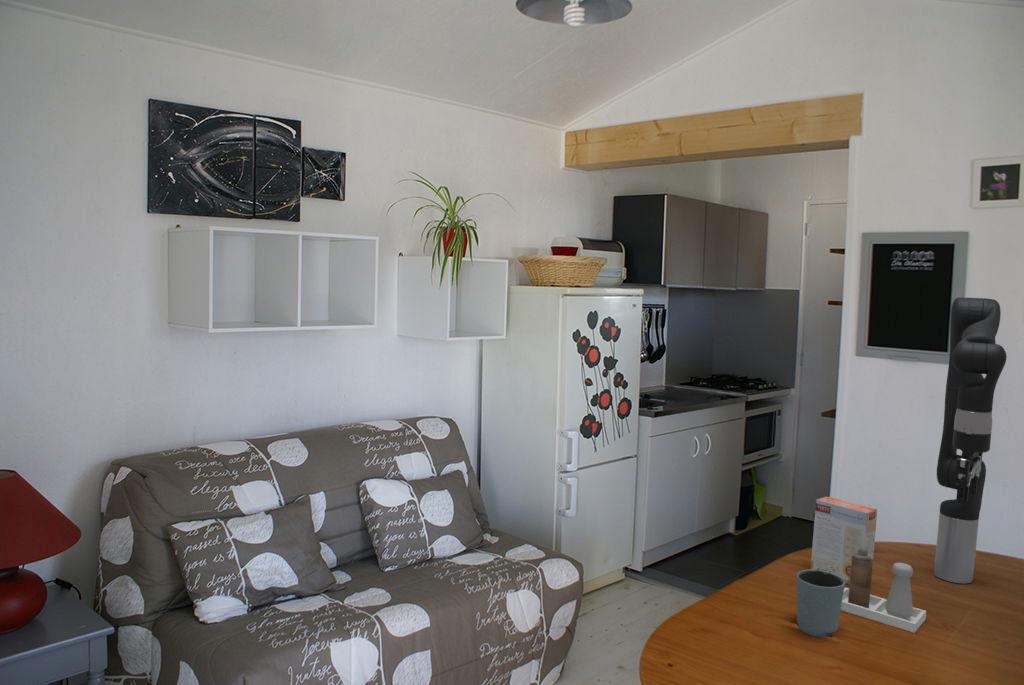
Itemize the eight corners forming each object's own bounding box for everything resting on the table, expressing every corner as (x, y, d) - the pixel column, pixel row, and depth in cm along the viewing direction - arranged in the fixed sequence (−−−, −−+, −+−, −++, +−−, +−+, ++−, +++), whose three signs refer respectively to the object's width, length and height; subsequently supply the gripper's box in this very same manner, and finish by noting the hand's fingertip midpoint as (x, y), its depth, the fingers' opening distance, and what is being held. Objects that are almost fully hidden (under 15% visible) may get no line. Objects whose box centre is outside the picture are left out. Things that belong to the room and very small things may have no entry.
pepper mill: (851, 601, 193) (856, 542, 191) (871, 607, 190) (876, 547, 188) (845, 606, 189) (850, 547, 188) (865, 613, 186) (870, 552, 185)
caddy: (844, 599, 196) (845, 587, 196) (925, 623, 184) (926, 611, 184) (830, 610, 189) (831, 598, 189) (913, 636, 177) (915, 624, 177)
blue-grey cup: (839, 623, 182) (843, 573, 181) (842, 643, 173) (846, 590, 171) (792, 615, 185) (796, 566, 184) (793, 634, 176) (797, 582, 175)
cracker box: (871, 587, 204) (878, 508, 202) (860, 593, 201) (867, 512, 198) (820, 570, 215) (827, 494, 213) (809, 575, 211) (815, 498, 209)
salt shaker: (914, 625, 180) (920, 570, 179) (887, 622, 182) (892, 567, 180) (907, 615, 186) (913, 561, 185) (881, 611, 187) (886, 558, 186)
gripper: (961, 421, 190) (956, 487, 192) (946, 431, 180) (940, 500, 182) (997, 426, 185) (991, 494, 187) (984, 436, 175) (977, 508, 177)
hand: (966, 497), depth 184 cm, fingers open, 8 cm apart
